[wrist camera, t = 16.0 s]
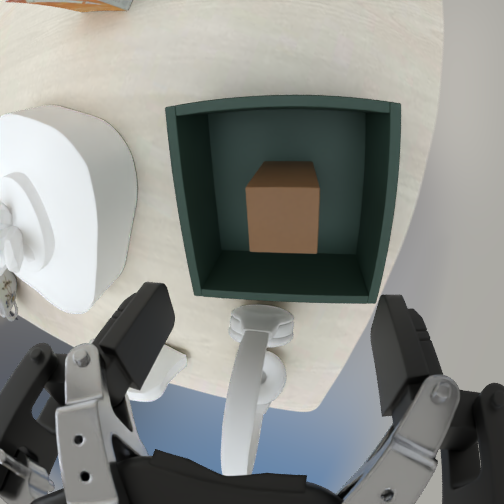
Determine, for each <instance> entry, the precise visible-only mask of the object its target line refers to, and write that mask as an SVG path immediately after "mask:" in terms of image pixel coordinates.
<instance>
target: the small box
mask: <svg viewBox="0 0 504 504" xmlns="http://www.w3.org/2000/svg"><path fill="white" fill-rule="evenodd" d="M132 1H133V0H6V2H19V3H31V4H39V5H47V6H54V7H60V8H65V9H69V10H74V11H79V12H89V11H127V10H128V9H129V7H130V5H131V3H132Z"/></svg>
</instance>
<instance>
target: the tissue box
mask: <svg viewBox="0 0 504 504" xmlns="http://www.w3.org/2000/svg"><path fill="white" fill-rule="evenodd" d="M136 202H137V177H136V170H135V166H134V162H133V158H132V155H131V152H130V150H129V148H128V146H127V144H126V143H125V141H124V140H123V138H122V137H121V136H120V134H119V133H118V132H117V131H116V130H115V129H114V128H113V127H112V126H111V125H110V124H109V123H107V122H106V121H104V120H102V119H100V118H98V117H95V116H92V115H89V114H86V113H82V112H79V111H75V110H72V109H68V108H65V107H61V106H57V105H46V106H40V107H35V108H29V109H25V110H20V111H16V112H11V113H7V114H5V115H2V116H1V117H0V276H1V275H2V274H3V273H4V271H5V270H6V269H7V268H8V270H9V271H11V272H13V273H14V274H15V275H16V276H18V277H19V278H20V279H21V280H22V281H24V282H25V283H26V284H28V285H29V286H31V287H32V288H33V289H35V290H36V291H37V292H38V293H40V294H41V295H42V296H43V297H44V298H45V299H46V300H48V301H49V302H50V303H51V304H52V305H54V306H55V307H57V308H58V309H60V310H62V311H64V312H67V313H72V314H82V313H85V312H87V311H88V310H89V309H90V308H91V307H92V306H93V305H94V303H95V302H96V301H97V300H98V299H99V298H100V297H101V295H102V294H103V293H104V292H105V291H106V290H107V289H108V288H109V286H110V285H111V284H112V283H113V282H114V281H115V280H116V279H117V278H118V276H119V275H120V274H121V272H122V271H123V269H124V266H125V263H126V258H127V252H128V246H129V240H130V234H131V229H132V224H133V219H134V214H135V209H136Z"/></svg>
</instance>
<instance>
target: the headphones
mask: <svg viewBox="0 0 504 504" xmlns="http://www.w3.org/2000/svg"><path fill="white" fill-rule="evenodd" d="M231 314H232V316H231V318H230V327H229V334H230V336H231V337H232V338H233V339H234V340H235V341H237V342H239V343H240V346H239V349H238V352H237V355H236V359H235V363H234V366H233V370H232V375H231V379H230V384H229V388H228V393H227V399H226V405H225V410H224V418H223V425H222V442H221V467H222V473H223V475H225V476H236V475H251V473H252V471H253V467H254V462H255V457H256V452H257V447H258V442H259V437H260V431H261V425H262V419H263V414H265V413H266V411H267V409H268V408H269V406H270V404H271V402H272V401H274V400H275V399H276V398H277V397H278V396H279V394H280V393H281V392H282V390H283V388H284V386H285V383H286V369H285V366H284V364H283V362H282V361H281V359H280V358H279V357H278V356H277V355H275V354H274V353H272V352H270V351H266V349H267V347H278V346H282V345H285V344H287V343H289V342H290V341H291V340H292V338H293V335H294V334H293V329H294V322H293V320H294V316H293V315H292V314H291V313H290V312H288V311H286V310H285V309H282V308H279V307H275V306H269V305H244V306H240V307H238V308H236V309H234V310H233V311H232V312H231Z"/></svg>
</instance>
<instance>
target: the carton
mask: <svg viewBox="0 0 504 504" xmlns="http://www.w3.org/2000/svg"><path fill="white" fill-rule="evenodd" d="M245 190H246V205H247V219H248V233H249V247H250V252H272V253H308V254H317V248H318V229H319V204H320V187H319V183H318V179H317V176H316V172H315V168H314V165H313V162H312V161H264V162H263V164H262V165H261V166H260V168H259V169H258V171H257V172H256V173H255V175H254V176H253V178H252V179H251V180H250V182H249V183H248V185H247V186H246V188H245Z"/></svg>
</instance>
